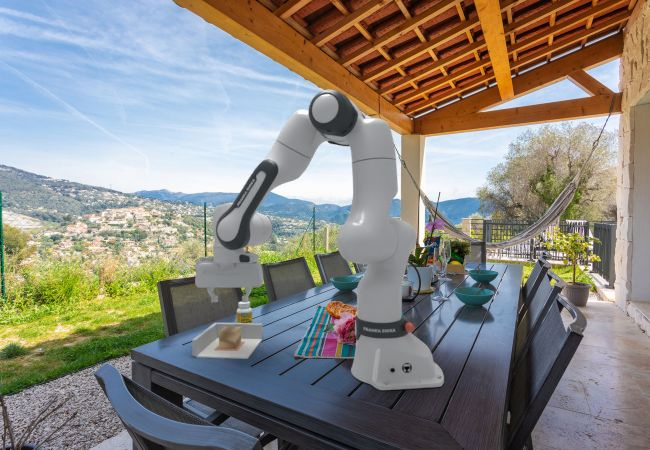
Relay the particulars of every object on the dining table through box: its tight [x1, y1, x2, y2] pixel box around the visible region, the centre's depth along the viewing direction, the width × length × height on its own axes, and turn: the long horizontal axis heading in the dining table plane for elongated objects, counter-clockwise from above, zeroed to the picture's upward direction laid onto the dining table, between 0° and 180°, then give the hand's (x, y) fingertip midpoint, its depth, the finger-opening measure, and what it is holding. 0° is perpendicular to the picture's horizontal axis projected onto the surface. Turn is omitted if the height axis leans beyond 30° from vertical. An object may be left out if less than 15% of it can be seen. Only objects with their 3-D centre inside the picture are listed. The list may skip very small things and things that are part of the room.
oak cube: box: [219, 326, 241, 349], centre depth 107 cm, size 5×5×5 cm
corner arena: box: [191, 322, 264, 360], centre depth 107 cm, size 16×16×5 cm
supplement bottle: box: [236, 300, 253, 323], centre depth 124 cm, size 5×5×10 cm
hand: (229, 302), depth 106 cm, fingers open, 8 cm apart
